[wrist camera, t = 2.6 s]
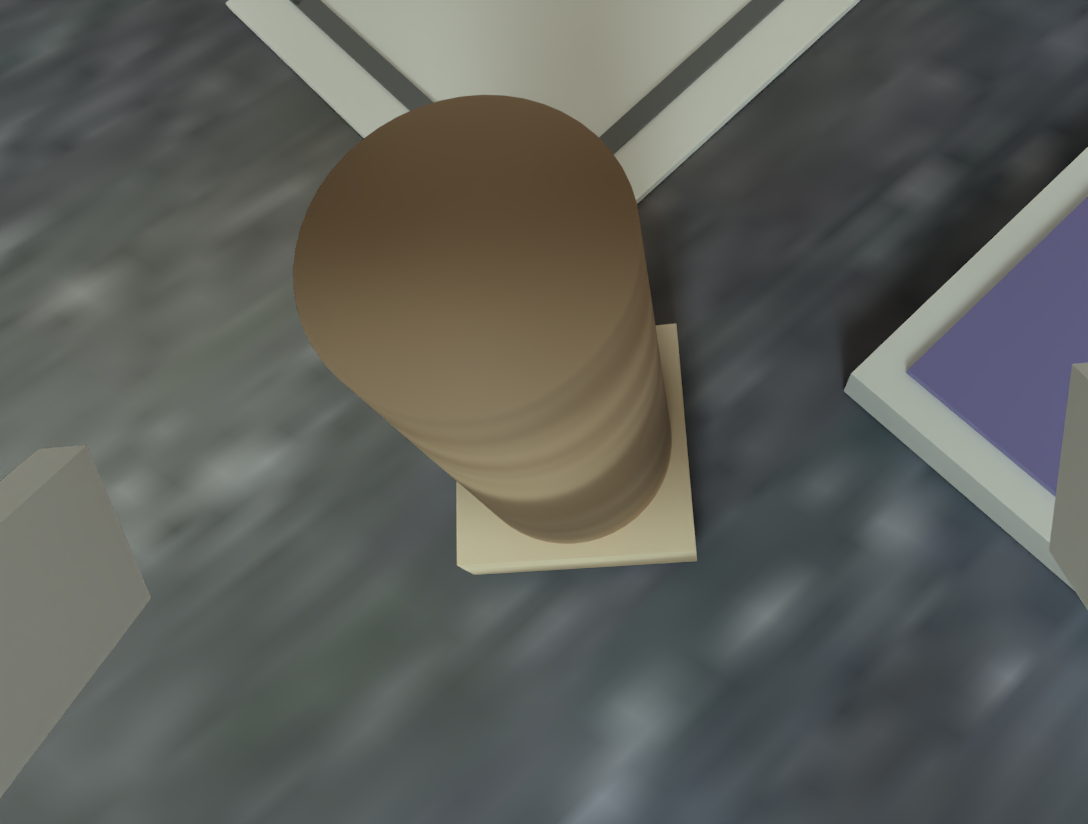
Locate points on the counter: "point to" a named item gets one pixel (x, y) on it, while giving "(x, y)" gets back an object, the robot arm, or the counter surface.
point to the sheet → (550, 60)
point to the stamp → (506, 330)
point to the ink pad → (996, 364)
